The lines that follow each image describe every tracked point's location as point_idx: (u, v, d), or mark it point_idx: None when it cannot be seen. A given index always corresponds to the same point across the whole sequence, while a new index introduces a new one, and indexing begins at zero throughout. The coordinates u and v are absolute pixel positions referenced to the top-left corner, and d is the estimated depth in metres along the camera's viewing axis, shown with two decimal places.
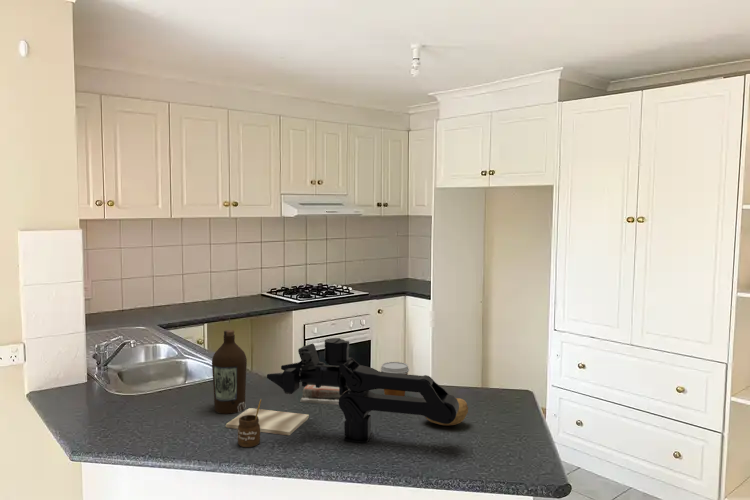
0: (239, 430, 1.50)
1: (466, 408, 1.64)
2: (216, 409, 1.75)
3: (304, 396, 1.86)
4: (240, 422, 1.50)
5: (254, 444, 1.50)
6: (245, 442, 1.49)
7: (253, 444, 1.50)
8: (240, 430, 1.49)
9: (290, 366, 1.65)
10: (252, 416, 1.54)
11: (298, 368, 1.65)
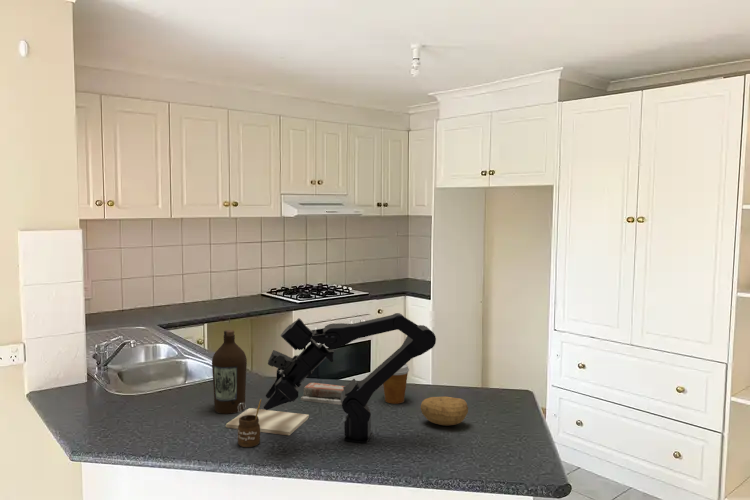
0: (239, 430, 1.50)
1: (466, 408, 1.64)
2: (216, 409, 1.75)
3: (305, 395, 1.88)
4: (240, 422, 1.50)
5: (254, 444, 1.50)
6: (245, 442, 1.49)
7: (253, 444, 1.50)
8: (240, 430, 1.49)
9: (272, 388, 1.56)
10: (252, 416, 1.54)
11: None
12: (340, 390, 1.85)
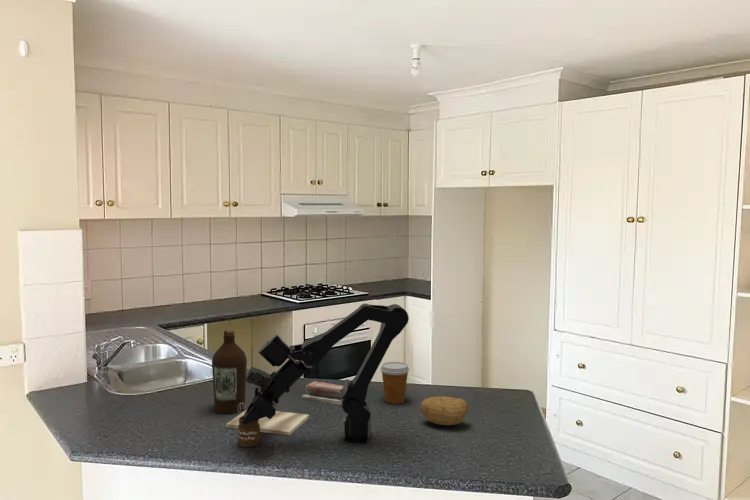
0: (239, 430, 1.50)
1: (466, 408, 1.64)
2: (216, 409, 1.75)
3: (306, 393, 1.89)
4: (240, 422, 1.50)
5: (254, 444, 1.50)
6: (245, 442, 1.49)
7: (253, 444, 1.50)
8: (240, 430, 1.49)
9: (251, 407, 1.54)
10: None
11: None
12: (339, 390, 1.85)
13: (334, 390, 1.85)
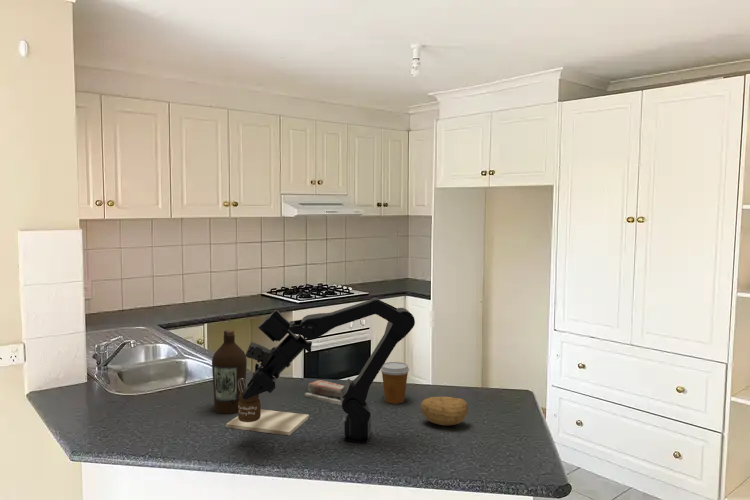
0: (239, 405, 1.49)
1: (466, 408, 1.64)
2: (216, 409, 1.75)
3: (309, 391, 1.91)
4: (240, 397, 1.49)
5: (254, 419, 1.49)
6: (245, 417, 1.49)
7: (253, 419, 1.49)
8: (240, 405, 1.49)
9: (251, 382, 1.54)
10: None
11: None
12: (339, 390, 1.85)
13: (334, 390, 1.86)
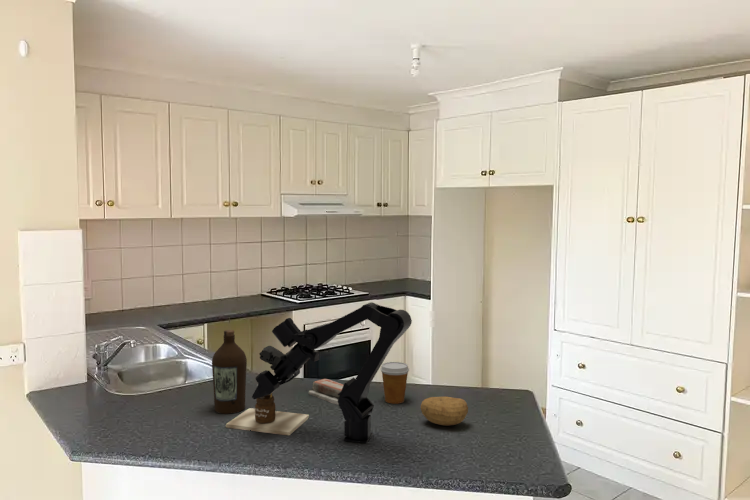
0: (255, 407, 1.65)
1: (466, 408, 1.64)
2: (216, 409, 1.75)
3: (313, 389, 1.94)
4: (256, 399, 1.65)
5: (266, 421, 1.63)
6: (258, 418, 1.63)
7: (265, 421, 1.63)
8: (255, 407, 1.64)
9: None
10: (270, 396, 1.67)
11: None
12: (338, 389, 1.85)
13: (334, 389, 1.87)
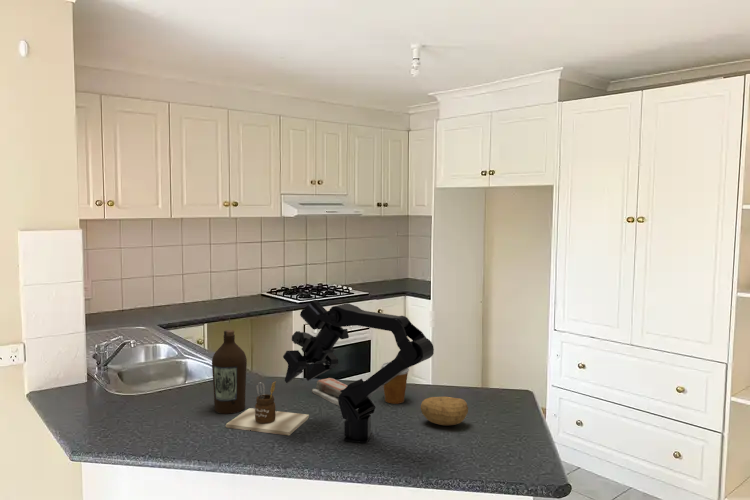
0: (255, 407, 1.65)
1: (466, 408, 1.64)
2: (216, 409, 1.75)
3: (317, 388, 1.95)
4: (256, 399, 1.65)
5: (266, 421, 1.63)
6: (258, 418, 1.63)
7: (265, 421, 1.63)
8: (255, 407, 1.64)
9: (311, 371, 1.67)
10: (270, 396, 1.67)
11: (317, 366, 1.67)
12: (338, 389, 1.86)
13: (334, 388, 1.87)
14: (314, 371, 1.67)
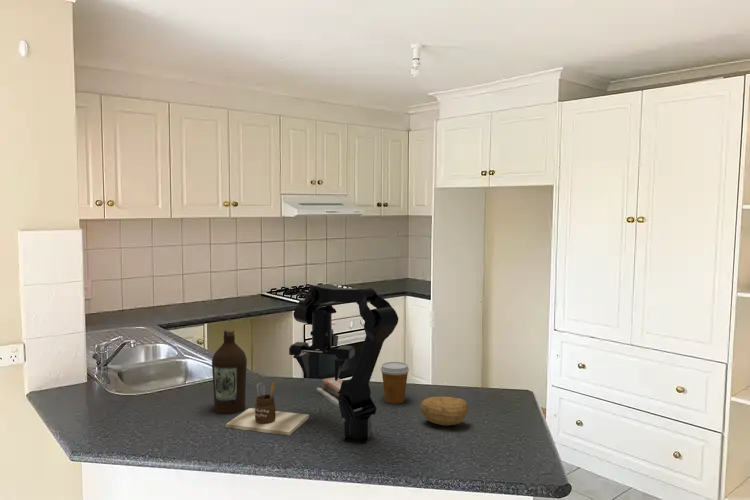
0: (255, 407, 1.65)
1: (466, 408, 1.64)
2: (216, 409, 1.75)
3: (321, 386, 1.97)
4: (256, 399, 1.65)
5: (266, 421, 1.63)
6: (258, 418, 1.63)
7: (265, 421, 1.63)
8: (255, 407, 1.64)
9: None
10: (270, 396, 1.67)
11: None
12: (337, 389, 1.86)
13: (334, 388, 1.87)
14: None
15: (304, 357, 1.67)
